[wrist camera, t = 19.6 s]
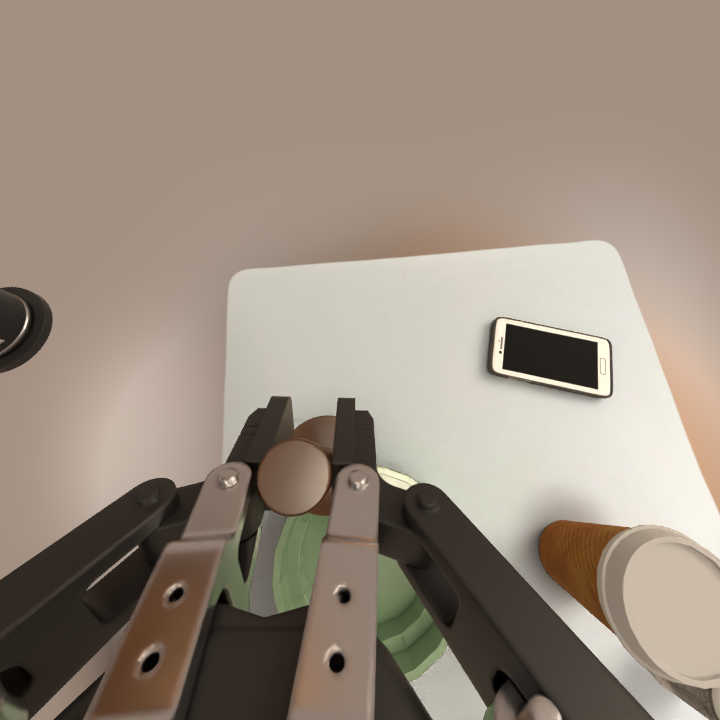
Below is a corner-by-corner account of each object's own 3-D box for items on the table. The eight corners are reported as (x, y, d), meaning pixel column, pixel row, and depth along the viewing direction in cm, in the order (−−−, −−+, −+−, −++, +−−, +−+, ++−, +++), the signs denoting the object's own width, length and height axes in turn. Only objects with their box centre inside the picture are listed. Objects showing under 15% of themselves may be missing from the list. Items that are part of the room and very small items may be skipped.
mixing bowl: (311, 669, 29) (299, 728, 23) (273, 492, 33) (254, 500, 27) (468, 606, 30) (497, 645, 24) (412, 445, 35) (424, 443, 29)
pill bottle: (677, 703, 28) (804, 801, 20) (635, 655, 30) (740, 730, 22) (705, 662, 29) (836, 740, 21) (663, 617, 30) (773, 675, 22)
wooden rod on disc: (297, 521, 20) (196, 649, 7) (278, 433, 22) (166, 401, 9) (382, 492, 21) (437, 560, 8) (357, 409, 23) (366, 345, 9)
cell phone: (607, 400, 37) (614, 399, 36) (486, 374, 38) (489, 372, 37) (606, 341, 39) (612, 339, 38) (491, 318, 40) (495, 314, 39)
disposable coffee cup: (596, 629, 30) (744, 736, 19) (508, 568, 32) (595, 633, 20) (627, 538, 33) (775, 583, 21) (544, 485, 34) (640, 501, 23)
